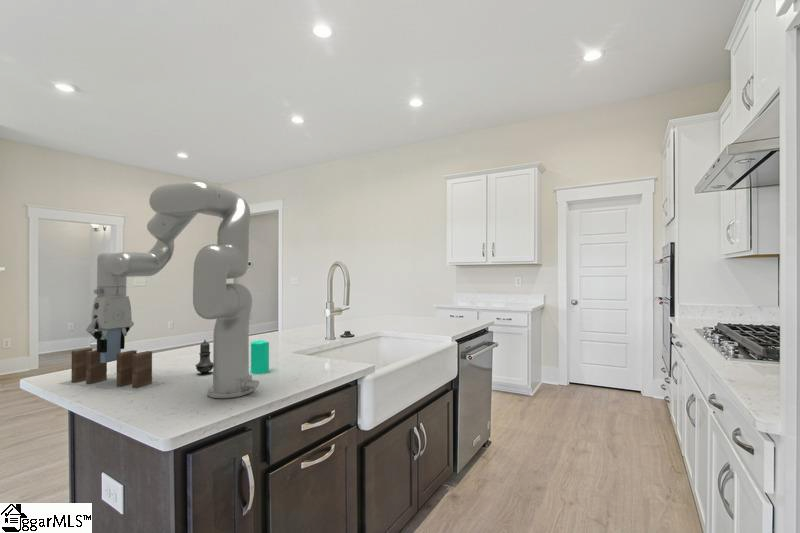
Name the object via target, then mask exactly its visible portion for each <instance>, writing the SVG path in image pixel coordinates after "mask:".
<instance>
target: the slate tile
mask: <svg viewBox="0 0 800 533" xmlns="http://www.w3.org/2000/svg"><path fill="white" fill-rule="evenodd" d="M101 333H102V331H101ZM105 339H107V352H105V353H100V363H107V364H108V363H110V362H114V361H117V353H122V349H121V329H120V328H118V329H111V330H107V334H106V337H105Z"/></svg>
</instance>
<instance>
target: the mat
mask: <svg viewBox="0 0 800 533" xmlns="http://www.w3.org/2000/svg"><path fill="white" fill-rule="evenodd" d="M57 384H58V385H67V386H76V387H77V386H78V387H79V386H80V387H90V388H97V389H98V388H99V389H100V388H101V389H102V388H103V389H111V390H123V391H132V392H133V391H136V392H142V391H144V390H147V389H151V388H154V387H157V386H160V385H163V384H164V382H161V381H152V384H149V385H146V386H143V387H140V388H132V384H130V385H126V386H123V387H116V384H117V378H111V377H107V380H105V381H101V382H97V383H94V384H86V381H82V382H78V383H71V380H70V379H69V380H67V381H64V382H59V383H57Z"/></svg>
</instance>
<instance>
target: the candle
mask: <svg viewBox="0 0 800 533" xmlns="http://www.w3.org/2000/svg"><path fill="white" fill-rule="evenodd" d="M268 371H269V372H270V341H266V340H262V339H259V340H254V341H251V342H250V373H251V375H263V374H262V373H264V374H267V373H269V372H268ZM266 372H267V373H266Z"/></svg>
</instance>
